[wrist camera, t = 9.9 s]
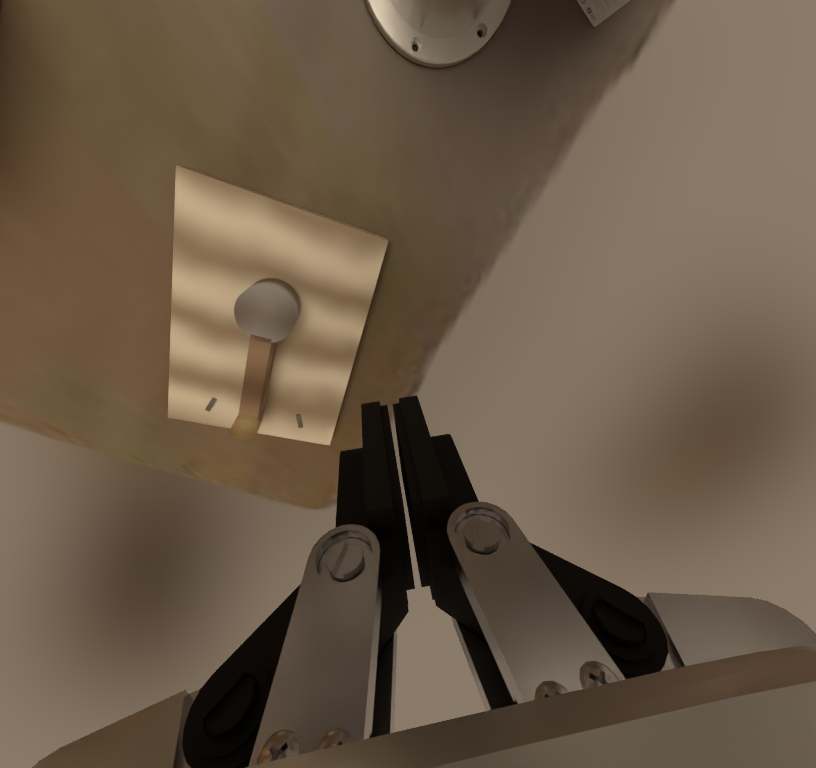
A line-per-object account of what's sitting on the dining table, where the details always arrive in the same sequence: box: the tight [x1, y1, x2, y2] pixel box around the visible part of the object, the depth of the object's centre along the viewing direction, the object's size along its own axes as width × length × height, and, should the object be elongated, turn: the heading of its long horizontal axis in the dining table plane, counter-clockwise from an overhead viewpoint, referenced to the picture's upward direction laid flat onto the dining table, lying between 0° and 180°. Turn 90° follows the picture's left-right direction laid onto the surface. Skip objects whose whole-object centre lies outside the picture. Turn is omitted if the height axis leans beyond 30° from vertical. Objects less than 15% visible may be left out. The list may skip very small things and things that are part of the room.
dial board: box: [168, 165, 389, 445], centre depth 36 cm, size 25×18×3 cm
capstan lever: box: [231, 278, 301, 441], centre depth 33 cm, size 18×5×5 cm, turn 161°
